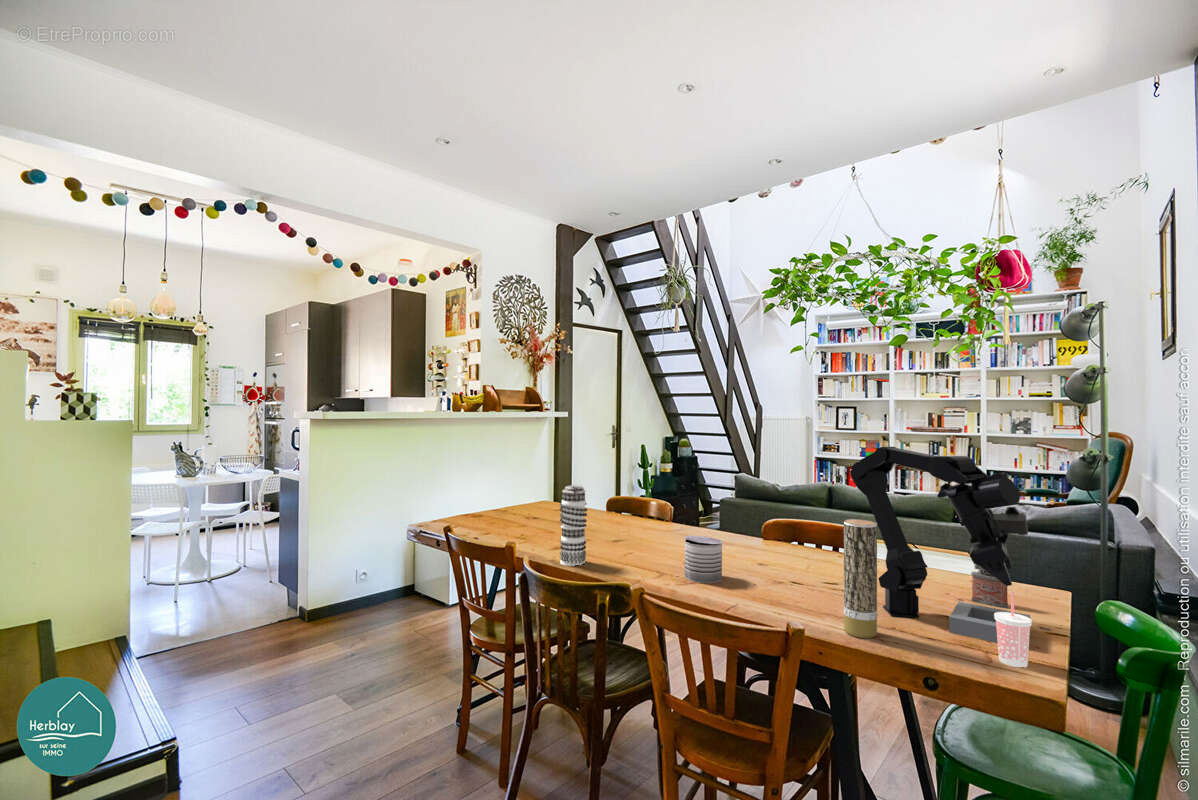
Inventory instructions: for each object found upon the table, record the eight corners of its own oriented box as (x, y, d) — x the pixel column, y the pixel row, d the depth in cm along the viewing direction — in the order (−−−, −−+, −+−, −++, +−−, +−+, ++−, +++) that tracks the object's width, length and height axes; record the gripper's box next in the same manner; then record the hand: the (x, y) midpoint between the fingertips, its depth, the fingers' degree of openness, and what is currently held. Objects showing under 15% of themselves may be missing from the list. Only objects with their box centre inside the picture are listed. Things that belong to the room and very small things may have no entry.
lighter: (1009, 606, 146) (1009, 567, 146) (1007, 609, 143) (1006, 569, 143) (973, 598, 151) (973, 561, 152) (970, 601, 149) (969, 563, 149)
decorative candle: (557, 559, 187) (558, 484, 188) (584, 558, 189) (585, 484, 190) (560, 566, 178) (561, 488, 179) (589, 565, 180) (589, 487, 181)
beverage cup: (1023, 658, 114) (1023, 588, 114) (1038, 671, 108) (1037, 598, 109) (989, 654, 116) (988, 586, 116) (1001, 667, 110) (1001, 595, 110)
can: (681, 572, 174) (681, 533, 174) (717, 572, 174) (717, 533, 174) (688, 583, 162) (688, 542, 162) (727, 583, 163) (727, 542, 163)
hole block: (1026, 649, 118) (1026, 632, 118) (949, 632, 127) (949, 616, 127) (1030, 630, 129) (1030, 615, 129) (958, 615, 138) (958, 601, 138)
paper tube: (867, 627, 130) (867, 519, 130) (883, 639, 123) (883, 525, 123) (838, 627, 129) (838, 519, 130) (852, 639, 123) (852, 525, 123)
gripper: (1012, 512, 112) (1055, 585, 110) (1012, 487, 127) (1050, 551, 124) (953, 528, 119) (992, 598, 116) (960, 502, 133) (995, 563, 131)
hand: (1009, 576), depth 122 cm, fingers open, 9 cm apart
